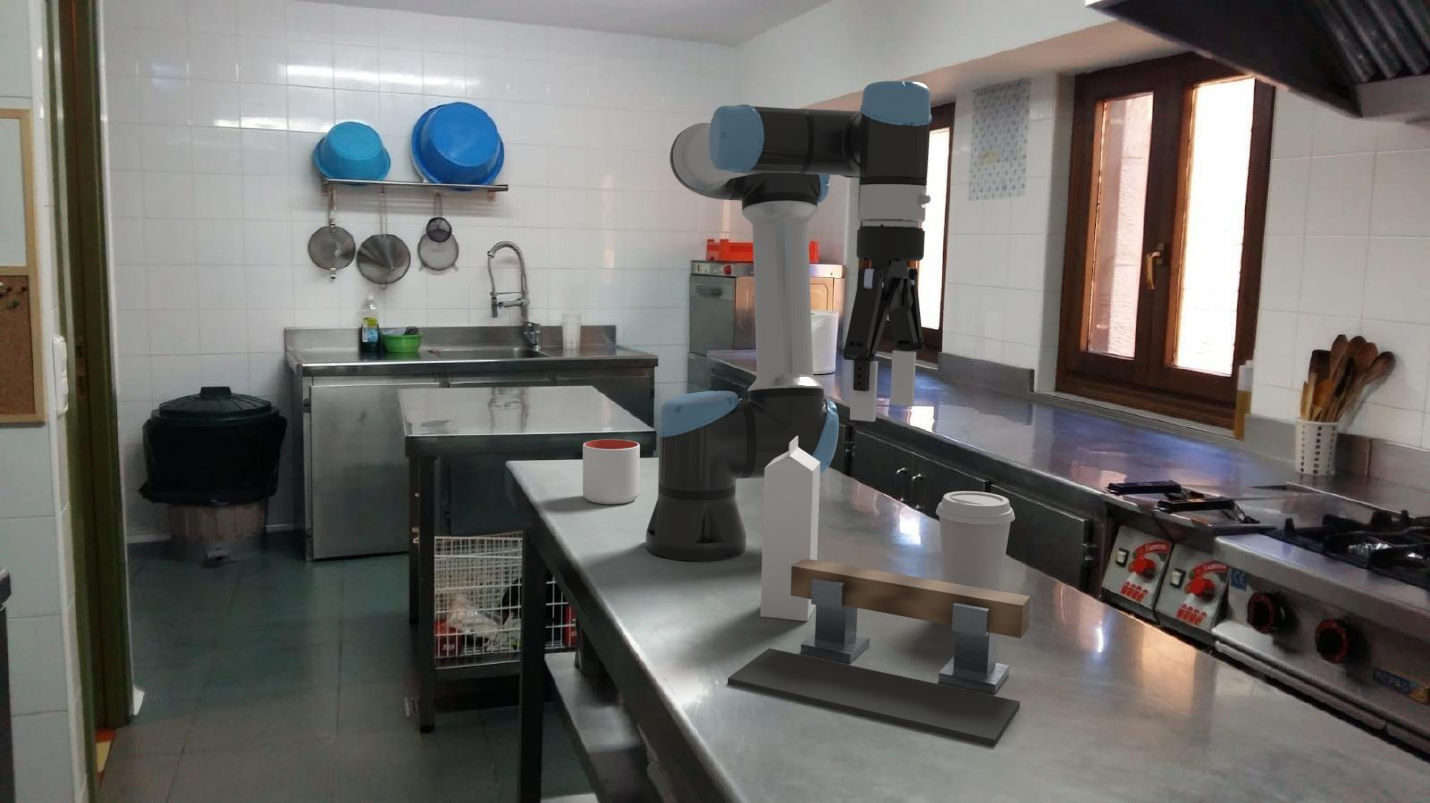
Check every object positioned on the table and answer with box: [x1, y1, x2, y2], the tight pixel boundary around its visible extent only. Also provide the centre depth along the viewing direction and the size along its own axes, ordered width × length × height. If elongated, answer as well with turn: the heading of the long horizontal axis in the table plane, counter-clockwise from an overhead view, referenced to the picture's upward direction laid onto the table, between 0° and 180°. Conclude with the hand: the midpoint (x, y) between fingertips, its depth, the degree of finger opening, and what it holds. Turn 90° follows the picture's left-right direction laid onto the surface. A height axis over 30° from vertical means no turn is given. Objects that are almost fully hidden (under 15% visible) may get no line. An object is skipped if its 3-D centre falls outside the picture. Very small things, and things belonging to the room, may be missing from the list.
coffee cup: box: [935, 490, 1016, 591], centre depth 137 cm, size 10×10×15 cm
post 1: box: [800, 578, 871, 664], centre depth 125 cm, size 6×7×9 cm
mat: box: [727, 647, 1021, 747], centre depth 113 cm, size 28×10×1 cm, turn 62°
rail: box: [791, 558, 1031, 639], centre depth 120 cm, size 26×4×4 cm, turn 62°
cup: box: [582, 438, 641, 505], centre depth 194 cm, size 10×10×10 cm
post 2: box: [938, 602, 1010, 695], centre depth 117 cm, size 6×7×9 cm
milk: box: [760, 436, 821, 622], centre depth 136 cm, size 6×6×22 cm
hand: (883, 412), depth 126 cm, fingers open, 13 cm apart
